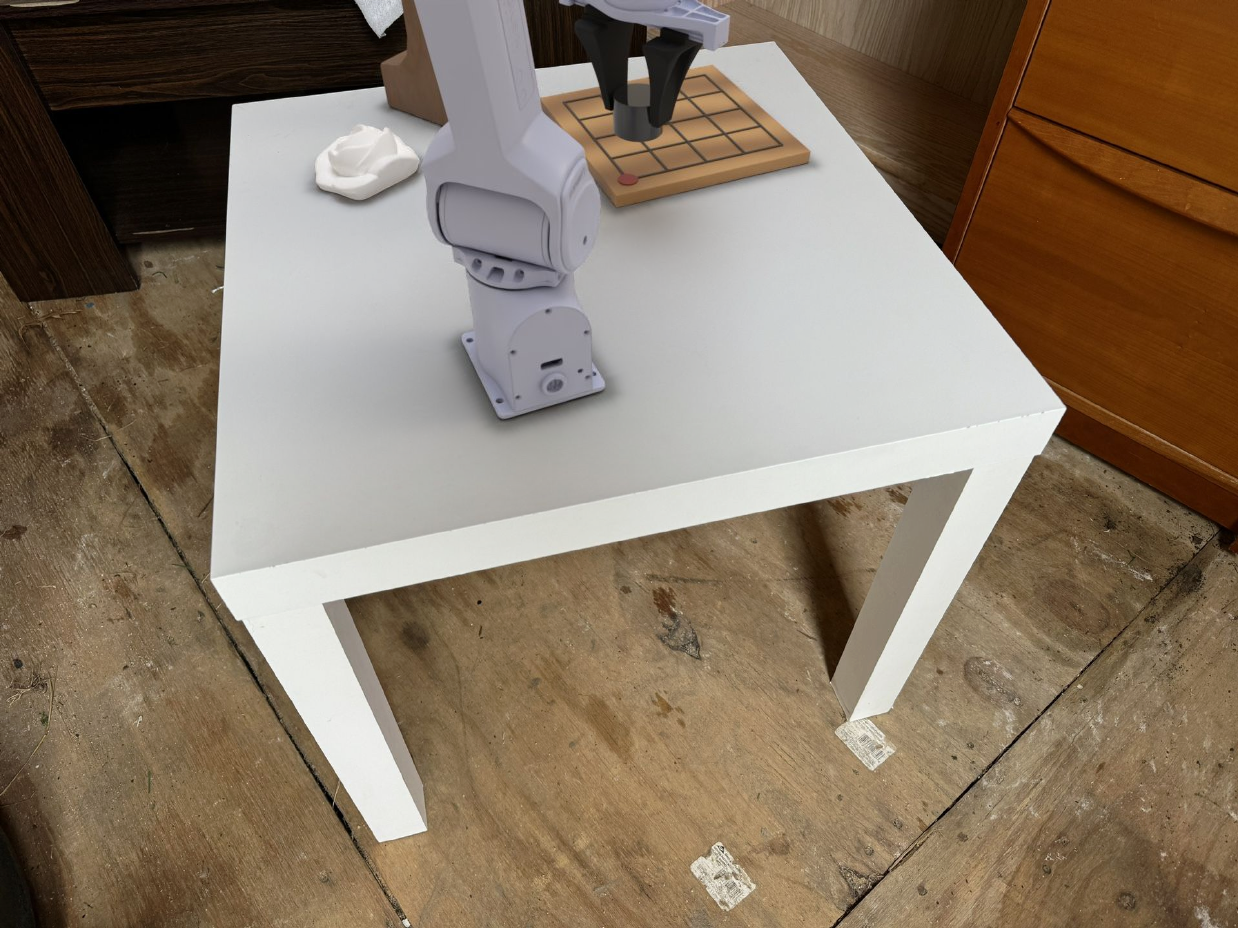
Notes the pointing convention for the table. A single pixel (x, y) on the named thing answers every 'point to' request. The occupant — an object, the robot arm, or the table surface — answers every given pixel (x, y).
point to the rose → (364, 163)
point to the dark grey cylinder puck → (633, 113)
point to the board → (678, 140)
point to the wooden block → (413, 74)
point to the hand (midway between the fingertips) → (638, 114)
